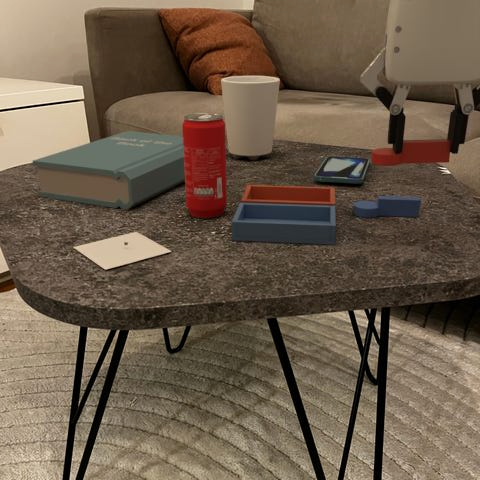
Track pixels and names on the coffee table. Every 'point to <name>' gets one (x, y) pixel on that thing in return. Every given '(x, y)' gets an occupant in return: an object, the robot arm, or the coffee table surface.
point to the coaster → (121, 250)
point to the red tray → (289, 195)
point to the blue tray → (284, 223)
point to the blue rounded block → (388, 207)
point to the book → (114, 170)
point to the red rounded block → (414, 153)
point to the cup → (250, 114)
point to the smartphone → (342, 170)
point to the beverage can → (205, 164)
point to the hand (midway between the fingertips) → (424, 149)
